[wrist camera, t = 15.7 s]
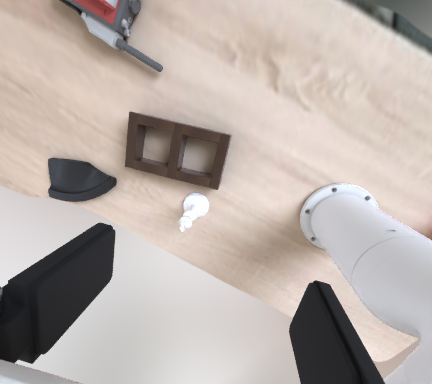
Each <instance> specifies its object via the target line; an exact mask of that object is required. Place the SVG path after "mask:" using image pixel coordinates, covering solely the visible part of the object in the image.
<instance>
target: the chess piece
mask: <svg viewBox="0 0 432 384" xmlns="http://www.w3.org/2000/svg"><path fill="white" fill-rule="evenodd" d="M183 206H184V210H185V212H184V214H183V217H182V218H181V219H180V220H179V224H180V226H181V227H180V230H181V231H180V232H184V229H188V228H190V227H191V225H192V222H193V221H194V220H195V218H200V217H202V216H204V215H205V214H206V213H207V211H208V209H209V202H208V200H207V199H206V197H205V196H203V195H202V194H199V193H192V194H189V195H188V196H187V197H186V198H185V200H184V204H183Z"/></svg>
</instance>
